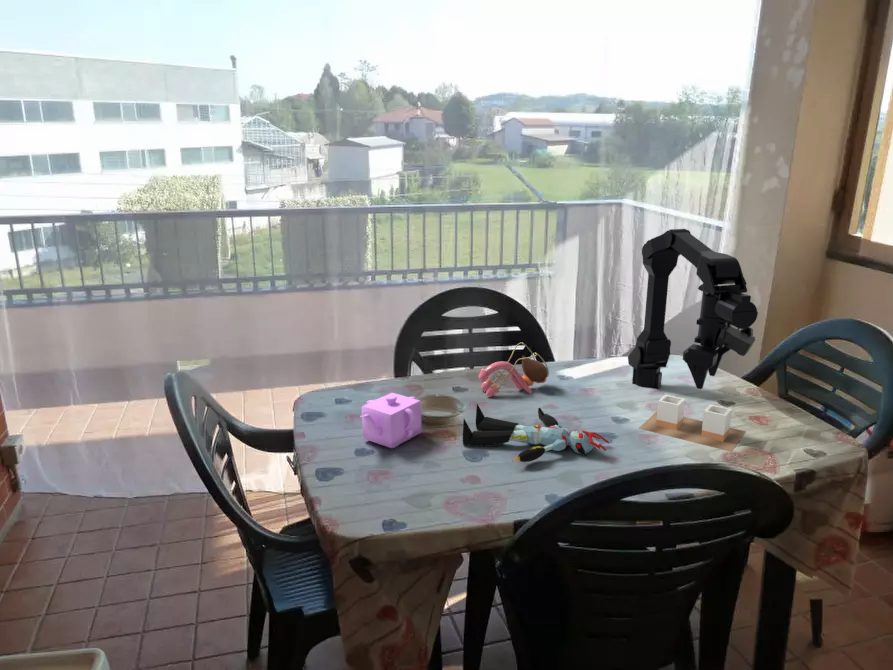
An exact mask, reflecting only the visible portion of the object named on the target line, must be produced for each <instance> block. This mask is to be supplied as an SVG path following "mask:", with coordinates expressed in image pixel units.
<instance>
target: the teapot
mask: <svg viewBox="0 0 893 670" xmlns="http://www.w3.org/2000/svg"><path fill="white" fill-rule="evenodd" d="M359 417H360V418H361V421H362V438H364V439H363V440H366V439H367V440H366V441H370V442H371V443H375V444H377V445H380V446H384V447H386V448H390V449H394V448H397V447H398V446H399V445H401V444H403V443H405V442H407V441H408V440H412V439H413V438H415V437H416V436H417V435H419V434H421V433H423V432H422V430H423V429H422V401H421V400H420V399H417V397H415V396H406V395H402V394H399V393H394V392H389V393H388V394H385V395H383V396H382V397H379V398H376V399H369V400H367V401H366V404H364V405H362V406H361V415H360V416H359ZM411 438H412V439H411ZM396 446H397V447H396Z"/></svg>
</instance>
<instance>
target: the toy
mask: <svg viewBox="0 0 893 670" xmlns="http://www.w3.org/2000/svg"><path fill="white" fill-rule="evenodd" d="M475 409H476V410H475V413H476V414H475V428H476V430H473V431H472V430H471V428H470V426H469V425H468V422H467V421H466V419H465V418H463V420H462V421H463V423H462V424H463V425H462V443H463V444H462V445H463V446H470V447H490V446H498V445H502V444H506V443H509V442H510V441H512V442H526V443H528V444H531V445H536V446H530V447H528V448H526V449H523V450H522V451H520V452H519V453H518V455H517V457H516V458H514V459H512V460H511V462H518V461H519V462H521V463H528V462H533V461H536V460H538V459H539V458H541V457H543V455H544V454H545V453H546V452H548V451H551V450H552V451H554V452H555V451H556V452H560V451H563V450H565V449H566V448H567V447H568V446H569V445H570V447H571V449H572V450H573V451H574V452H575V453H577V454H579V455H583V456H584V457H587V454H588V453H590V452H591V451H592V449H593V448H594V447H595V448H596V449H599V450H600V449H602V450H604V452H606V451H607V448H605V446H603V445H602V444H601V442H600V443H596V442H594V439H593V438H595V439H598V440H603V441H604V442H606V443H607V444H609V443H610V441H608V440H607V439H605V437H604V436H602V435H600V434H599V433H597V432H593V431H586V430H580V431H579V430H576V431H574V430H573V431H570V430H569V429H568V428H566V427H559V422H558V420H557V419H556V418H555V417H554V416H552V415H550V414H548V413H544V411H543V410H542V409H541V407H538V408H537V414H538V419H539V420H540V421H541V422H542V423H543V424H544V425H545V426H546V427H545V426H542V425H541V424H534V425H531V426H527V425H522V424H519V422H512V421H508V420H503V419H500V418H499V419H498V418H493V417H491V416H485V415H484V413H483V412H482V409H481V408H480V406H479V404H478V403H476V408H475ZM480 430H481V431H480ZM539 444H542V445H543V446H540V445H539Z"/></svg>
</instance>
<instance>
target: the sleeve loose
mask: <svg viewBox="0 0 893 670" xmlns="http://www.w3.org/2000/svg"><path fill="white" fill-rule="evenodd" d="M732 410H733V409H732V408H729V407H725V406H720V405H715V404H712V403H711V404H708V406H707V407H706V408H705V409H704V410H703V413H702V415H703V416H702V417H703V418H702V421H703V424H702V433H701V436H702V437H706V438H710V439H714V440H718V441H722V442H723V441H724V440H725V439H726V437H727V436H728V435H729V430H730V428H731V419H732V412H733V411H732Z"/></svg>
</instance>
